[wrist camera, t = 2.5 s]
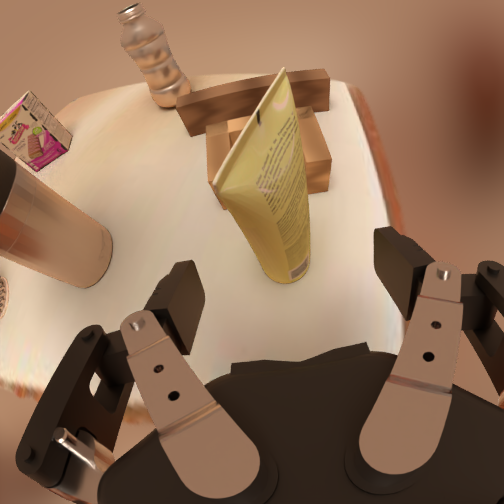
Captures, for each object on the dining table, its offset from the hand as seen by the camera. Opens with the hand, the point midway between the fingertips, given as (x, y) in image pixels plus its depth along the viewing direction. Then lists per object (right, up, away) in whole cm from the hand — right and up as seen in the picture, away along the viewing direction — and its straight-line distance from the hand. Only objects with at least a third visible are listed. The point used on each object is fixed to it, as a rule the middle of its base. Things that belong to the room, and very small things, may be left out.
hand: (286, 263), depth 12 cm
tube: (+2, 0, +16) cm, 17 cm away
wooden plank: (-1, +20, +23) cm, 31 cm away
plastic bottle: (-14, +26, +28) cm, 41 cm away
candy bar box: (-44, +21, +32) cm, 58 cm away
